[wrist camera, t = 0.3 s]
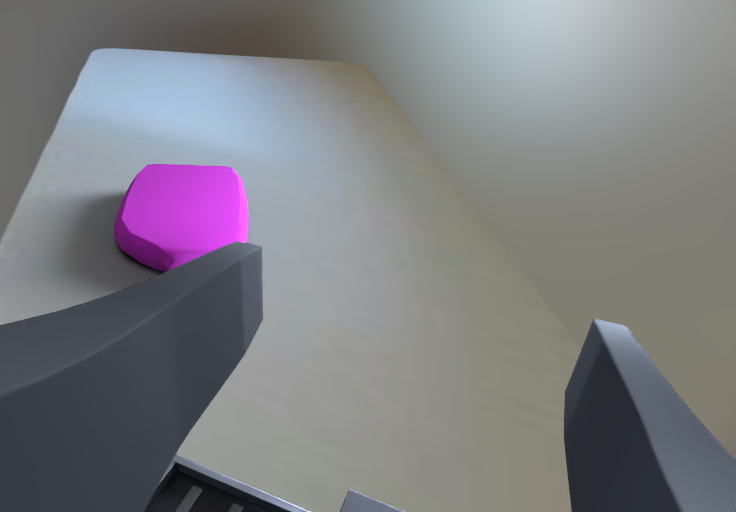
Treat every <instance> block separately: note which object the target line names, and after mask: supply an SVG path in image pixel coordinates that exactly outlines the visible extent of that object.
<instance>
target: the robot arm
mask: <svg viewBox="0 0 736 512" xmlns="http://www.w3.org/2000/svg"><path fill="white" fill-rule="evenodd" d="M262 320H263V290H262V246H257V245H252V244H248V243H243V242H239V241H236V242H233V243H230V244H227V245H225V246H223V247H220V248H218V249H216V250H213V251H211V252H209V253H207V254H204V255H202V256H200V257H198V258H196V259H193V260H191V261H189V262H187V263H185V264H182V265H180V266H178V267H176V268H173V269H171V270H169V271H167V272H164V273H162V274H160V275H158V276H155V277H153V278H150V279H148V280H145V281H143V282H140V283H138V284H135V285H133V286H130V287H128V288H125V289H123V290H120V291H118V292H115V293H112V294H110V295H107V296H104V297H101V298H98V299H95V300H92V301H89V302H86V303H83V304H80V305H76V306H73V307H70V308H67V309H63V310H60V311H56V312H53V313H49V314H45V315H41V316H37V317H33V318H28V319H24V320H20V321H16V322H12V323H8V324H4V325H0V512H144V510H145V508H146V506H147V505H148V503H149V501H150V499H151V497H152V495H153V493H154V491H155V490H156V488H157V486H158V484H159V482H160V481H161V479H162V477H163V475H164V474H165V472H166V470H167V468H168V467H169V465H170V463H171V461H172V460H173V458H174V456H175V454H176V452H177V451H178V449H179V447H180V446H181V444H182V443H183V441H184V440H185V438H186V437H187V435H188V433H189V432H190V430H191V429H192V428H193V426H194V425H195V423H196V422H197V421H198V419H199V418H200V416H201V415H202V414H203V412H204V411H205V409H206V408H207V407H208V405H209V404H210V402H211V401H212V400H213V398H214V397H215V396H216V394H217V393H218V391H219V390H220V389H221V387H222V386H223V384H224V383H225V382H226V380H227V379H228V377H229V376H230V374H231V373H232V372H233V370H234V369H235V367H236V366H237V365H238V363H239V362H240V360H241V359H242V357H243V356H244V354H245V353H246V351H247V349H248V347H249V345H250V343H251V341H252V340H253V338H254V336H255V334H256V332H257V330H258V328H259V326H260V324H261V322H262ZM564 443H565V453H566V462H567V472H568V481H569V490H570V499H571V508H572V512H736V460H735V459H734V458H733V457H732V456H731V455H730V454H729V453H728V452H727V450H726V449H725V448H724V447H723V446H722V445H721V444H720V443H719V442H718V441H717V439H716V438H715V437H714V436H713V435H712V434H711V433H710V432H709V431H708V429H707V428H706V427H705V426H704V425H703V424H702V423H701V422H700V420H699V419H698V418H697V417H696V416H695V414H694V413H693V412H692V411H691V410H690V408H689V407H688V406H687V405H686V404H685V402H684V401H683V400H682V399H681V398H680V396H679V395H678V394H677V393H676V391H675V390H674V389H673V388H672V386H671V385H670V384H669V382H668V381H667V380H666V379H665V377H664V376H663V375H662V374H661V372H660V371H659V369H658V368H657V367H656V366H655V364H654V363H653V361H652V360H651V359H650V358H649V356H648V355H647V354H646V352H645V351H644V350H643V348H642V347H641V346H640V344H639V343H638V341H637V340H636V339H635V337H634V336H633V335H632V334H631V333H630V331H629V330H628V329H627V328H626V326H623V325H619V324H614V323H610V322H605V321H600V320H596V319H593V322H592V324H591V327H590V329H589V332H588V335H587V337H586V340H585V342H584V345H583V347H582V350H581V353H580V355H579V358H578V360H577V363H576V365H575V368H574V371H573V373H572V376H571V378H570V381H569V383H568V386H567V389H566V391H565V409H564Z"/></svg>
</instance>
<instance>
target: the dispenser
mask: <svg viewBox="0 0 736 512" xmlns="http://www.w3.org/2000/svg"><path fill="white" fill-rule="evenodd" d="M340 512H404V511H401V510H399V509H397V508H394V507H392V506H389V505H387V504H384V503H382V502H380V501H377V500H375V499H372V498H370V497H367V496H365V495H363V494H360V493H358V492H355V491H353V490H350V489H349V491H348V493H347V496H346V498H345V500H344V503H343V505H342V507H341V510H340Z"/></svg>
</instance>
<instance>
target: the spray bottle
mask: <svg viewBox="0 0 736 512" xmlns="http://www.w3.org/2000/svg"><path fill="white" fill-rule="evenodd" d="M248 226H249V220H248V203H247V196H246V192H245V189H244V185H243V182H242V179H241V177H240V176H239V175H238V174H237V173H236V172H235V171H234V170H233V169H232V168H230V167H225V166H197V165H168V164H152V165H147V166H146V167H145V168H144V169H143V170H142V171H141V172H139V173H138V174H137V176H136V177H135V179H134V180H133V181H132V183H131V184H130V186H129V188H128V190H127V192H126V194H125V196H124V198H123V200H122V202H121V204H120V206H119V209H118V213H117V216H116V219H115V224H114V238H115V240H116V241H117V243H118V245H119V246H120V248H121V250H123V251H124V252H126V253H127V254H129V255H130V256H131V257H133V258H134V259H136V260H137V261H139V262H140V263H142V264H144V265H147V266H149V267H151V268H154V269H156V270H159V271H163V272H167V271H169V270H171V269H173V268H176V267H178V266H180V265H182V264H185V263H187V262H189V261H191V260H193V259H196V258H198V257H200V256H202V255H204V254H207V253H209V252H211V251H213V250H216V249H218V248H220V247H223V246H225V245H227V244H230V243H233V242H236V241H239V242H243V243H246V241H247V236H248Z"/></svg>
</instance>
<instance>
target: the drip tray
mask: <svg viewBox="0 0 736 512" xmlns="http://www.w3.org/2000/svg"><path fill="white" fill-rule="evenodd" d="M144 512H309V511H307V510H304V509H302V508H300V507H297V506H295V505H293V504H290V503H288V502H286V501H283V500H281V499H279V498H276V497H274V496H272V495H269V494H267V493H265V492H262V491H260V490H258V489H255V488H253V487H251V486H248V485H246V484H244V483H241V482H239V481H237V480H234V479H232V478H230V477H227V476H225V475H223V474H220V473H218V472H216V471H213V470H211V469H209V468H206V467H204V466H202V465H199V464H197V463H195V462H192V461H190V460H188V459H185V458H183V457H181V456H178V455H176V454H175V456H174V458H173V460H172V461H171V463H170V465H169V467H168V468H167V470H166V472H165V474H164V475H163V477H162V479H161V481H160V482H159V484H158V486H157V488H156V490H155V491H154V493H153V495H152V497H151V499H150V501H149V503H148V505H147V506H146V508H145V510H144Z"/></svg>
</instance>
